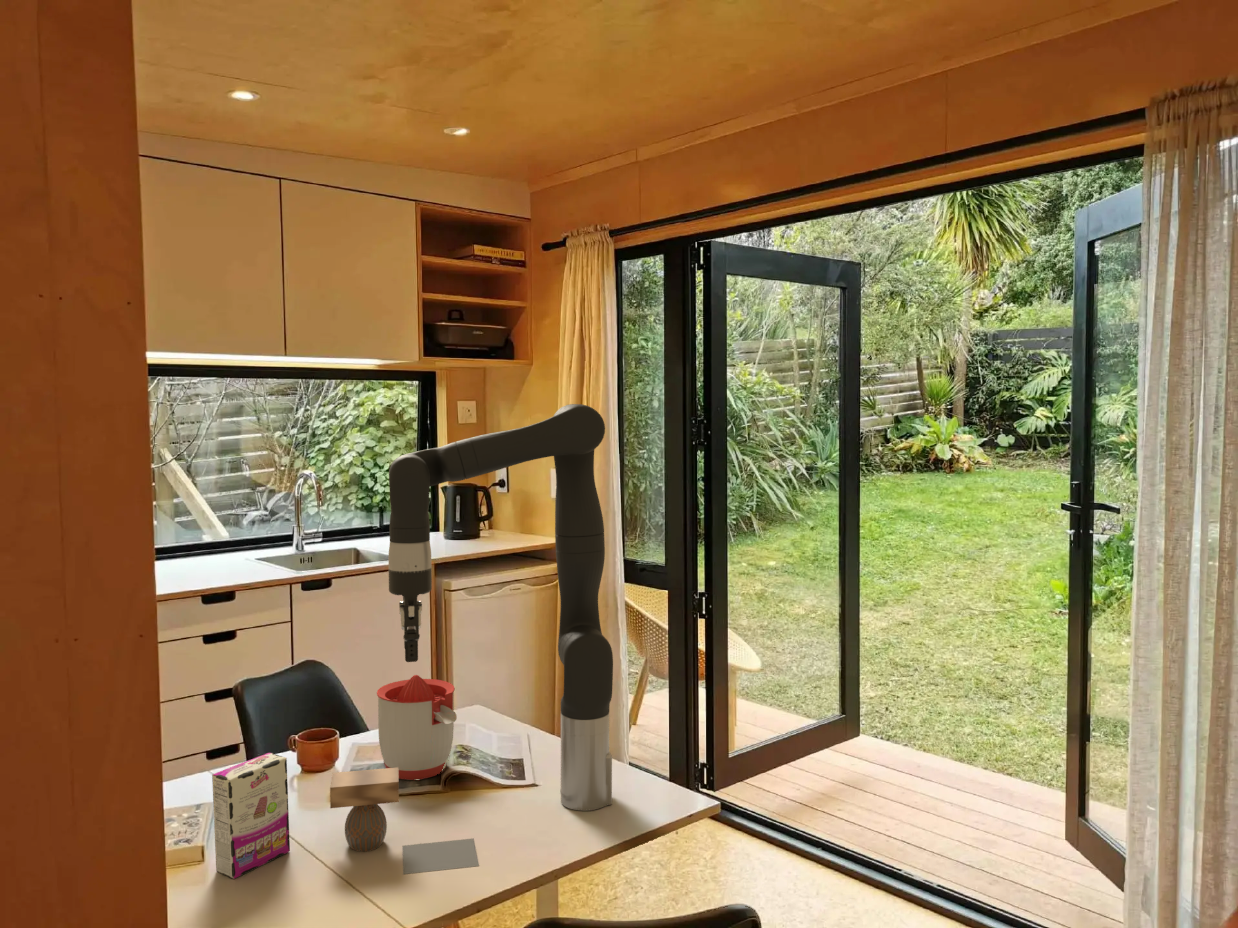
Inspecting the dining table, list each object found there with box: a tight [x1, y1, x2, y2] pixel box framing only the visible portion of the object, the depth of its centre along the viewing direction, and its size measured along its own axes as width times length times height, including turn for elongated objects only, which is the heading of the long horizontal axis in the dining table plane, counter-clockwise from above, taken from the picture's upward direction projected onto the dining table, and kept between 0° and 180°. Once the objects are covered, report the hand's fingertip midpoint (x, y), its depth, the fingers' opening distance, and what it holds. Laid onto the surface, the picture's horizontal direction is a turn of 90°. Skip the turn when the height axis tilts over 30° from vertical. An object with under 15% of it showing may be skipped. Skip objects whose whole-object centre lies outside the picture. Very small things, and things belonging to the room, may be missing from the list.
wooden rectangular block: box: [329, 767, 400, 809], centre depth 161 cm, size 11×6×4 cm, turn 103°
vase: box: [344, 804, 388, 852], centre depth 162 cm, size 7×7×9 cm
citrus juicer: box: [376, 674, 458, 781], centre depth 195 cm, size 16×17×20 cm
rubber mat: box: [402, 837, 480, 875], centre depth 158 cm, size 12×10×1 cm
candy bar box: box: [211, 752, 291, 880], centre depth 156 cm, size 11×5×16 cm, turn 148°
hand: (411, 655), depth 172 cm, fingers open, 8 cm apart
